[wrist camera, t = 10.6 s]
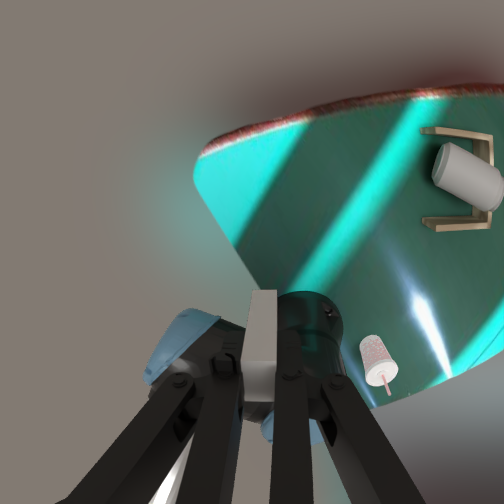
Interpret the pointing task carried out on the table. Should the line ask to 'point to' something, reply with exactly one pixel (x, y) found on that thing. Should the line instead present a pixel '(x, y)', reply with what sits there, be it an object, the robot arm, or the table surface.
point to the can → (468, 177)
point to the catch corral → (478, 217)
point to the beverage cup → (377, 362)
